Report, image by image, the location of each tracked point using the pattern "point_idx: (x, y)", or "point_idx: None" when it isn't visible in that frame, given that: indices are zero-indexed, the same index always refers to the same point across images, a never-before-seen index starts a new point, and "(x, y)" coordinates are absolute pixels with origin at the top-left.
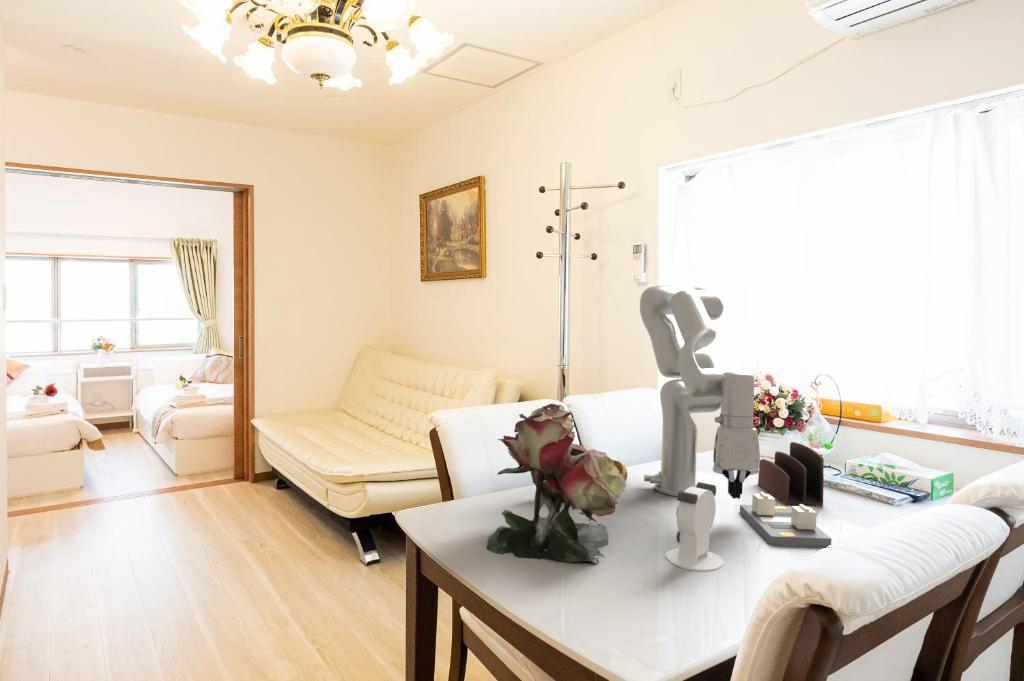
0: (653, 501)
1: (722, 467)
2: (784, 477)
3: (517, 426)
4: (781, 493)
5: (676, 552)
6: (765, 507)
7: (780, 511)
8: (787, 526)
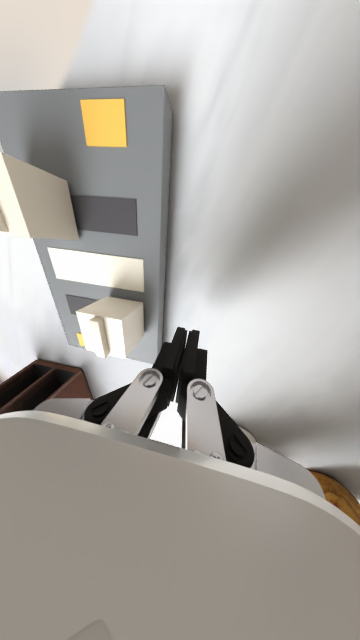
0: (297, 419)
1: (351, 536)
2: None
3: None
4: (77, 392)
5: None
6: (116, 306)
7: None
8: (91, 214)
